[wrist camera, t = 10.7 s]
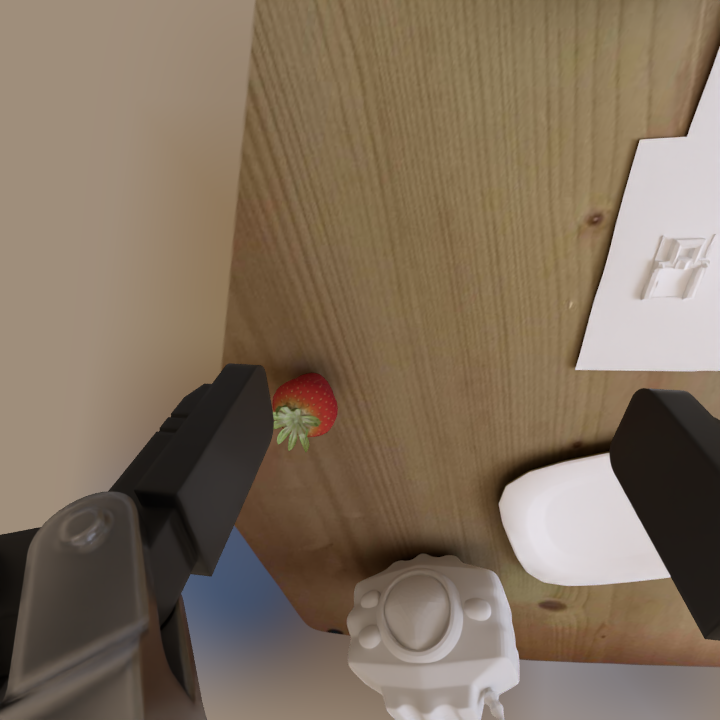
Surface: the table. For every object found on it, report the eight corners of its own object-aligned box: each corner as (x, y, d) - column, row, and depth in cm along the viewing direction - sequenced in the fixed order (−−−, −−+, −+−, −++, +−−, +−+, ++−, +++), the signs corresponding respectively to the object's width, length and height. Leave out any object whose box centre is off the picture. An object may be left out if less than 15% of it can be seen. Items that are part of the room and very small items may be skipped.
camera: (507, 576, 49) (542, 750, 36) (375, 588, 54) (363, 743, 41) (487, 524, 44) (519, 704, 31) (344, 543, 49) (319, 704, 36)
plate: (480, 466, 39) (483, 479, 38) (740, 412, 32) (755, 426, 31) (527, 579, 49) (531, 593, 48) (734, 556, 42) (745, 572, 41)
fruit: (291, 345, 34) (261, 404, 27) (350, 361, 34) (335, 422, 27) (284, 390, 37) (255, 453, 30) (339, 404, 37) (323, 469, 30)
